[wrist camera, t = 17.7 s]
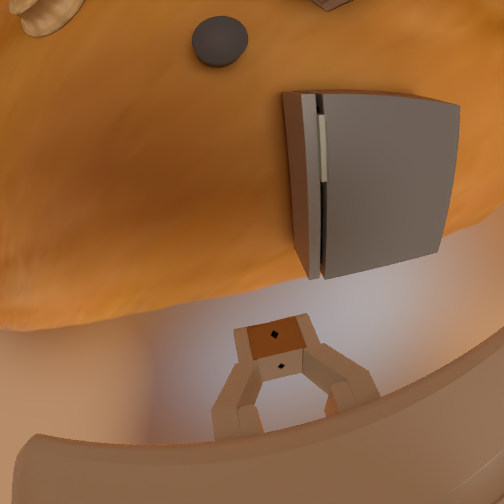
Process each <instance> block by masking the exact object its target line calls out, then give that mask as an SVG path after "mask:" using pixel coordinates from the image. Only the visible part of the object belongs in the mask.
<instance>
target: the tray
mask: <svg viewBox="0 0 504 504" xmlns="http://www.w3.org/2000/svg"><path fill="white" fill-rule="evenodd" d="M282 98H283V107H284V116H285V126H286V136H287V147H288V159H289V171H290V184H291V198H292V214H293V231H294V248H295V250H296V253H297V255H298V257H299V259H300V261H301V263H302V265H303V268H304V270H305V272H306V274H307V276H308V278H309V280H312V279H316V278H319V276H320V242H321V241H322V228H323V199H322V182H321V181H320V165H319V143H318V126H317V113H319V107H318V106H316V99H315V94H312V93H302V92H282Z"/></svg>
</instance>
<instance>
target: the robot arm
mask: <svg viewBox="0 0 504 504" xmlns="http://www.w3.org/2000/svg"><path fill="white" fill-rule="evenodd" d="M246 328H247V329H246ZM234 338H235V344H236V350H237V355H238V361H239V363H237V364H235V366H234V368H233V369H232V371H231V373H230V375H229V377H228V379H227V381H226V383H225V385H224V387H223V389H222V391H221V393H220V394H219V396H218V398H217V400H216V402H215V404H214V406H213V408H212V410H211V413H212V422H213V431H214V439H215V441H209V442H199V443H188V444H168V445H126V444H107V443H96V442H87V441H78V440H71V439H64V438H58V437H53V436H48V435H43V434H35V435H34V436H33V437H31V438H30V439H29V440H28V442H27V443H26V444H25V445H24V446H23V448H22V449H21V450H20V451H19V453H18V455H17V458H16V461H15V466H14V473H13V482H12V504H504V327H502V328H501V329H500V330H498V331H497V332H496V333H494V334H493V335H492V336H490V337H489V338H488V339H486V340H485V341H483V342H482V343H480V344H479V345H478V346H476V347H474V348H473V349H471V350H470V351H468V352H467V353H465V354H464V355H462V356H460V357H459V358H457V359H455V360H454V361H452V362H450V363H449V364H447V365H445V366H443V367H442V368H440V369H438V370H436V371H434V372H433V373H431V374H429V375H427V376H426V377H423V378H421V379H419V380H417V381H415V382H413V383H411V384H409V385H407V386H405V387H403V388H401V389H399V390H396V391H394V392H392V393H390V394H387V395H385V396H383V397H381V396H380V394H379V392H378V390H377V388H376V386H375V384H374V381H373V379H372V377H371V375H370V373H369V371H368V370H366V369H365V368H363V367H361V366H360V365H358V364H356V363H355V362H353V361H352V360H350V359H348V358H347V357H345V356H344V355H342V354H340V353H339V352H337V351H336V350H334V349H333V348H331V347H329V346H328V345H326V344H325V343H323V344H320V342H319V339H318V337H317V335H316V332H315V330H314V327H313V325H312V323H311V320H310V318H309V316H308V314H307V313H305V314H301V315H297V316H292V317H288V318H284V319H280V320H276V321H272V322H269V323H264V324H259V325H253V326H248V327H243V328H238V329H234ZM301 372H302V373H303V374H304V375H305V376H306V377H307V378H309V379H310V380H311V381H312V382H314V383H315V384H316V385H317V386H318V387H319V388H321V389H322V390H323V391H324V392H326V393H327V394H328V395H329V396H328V399H327V403H326V407H325V410H324V411H325V414H326V417H325V418H322V419H319V420H315V421H312V422H308V423H304V424H301V425H297V426H293V427H289V428H285V429H281V430H276V431H271V432H267V433H264V430H263V427H262V423H261V421H260V417H259V414H258V411H257V408H256V406H254V404H255V402H256V399H257V396H258V394H259V391H260V389H261V386H262V382H264V381H268V380H272V379H276V378H280V377H284V376H288V375H293V374H298V373H301Z"/></svg>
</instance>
